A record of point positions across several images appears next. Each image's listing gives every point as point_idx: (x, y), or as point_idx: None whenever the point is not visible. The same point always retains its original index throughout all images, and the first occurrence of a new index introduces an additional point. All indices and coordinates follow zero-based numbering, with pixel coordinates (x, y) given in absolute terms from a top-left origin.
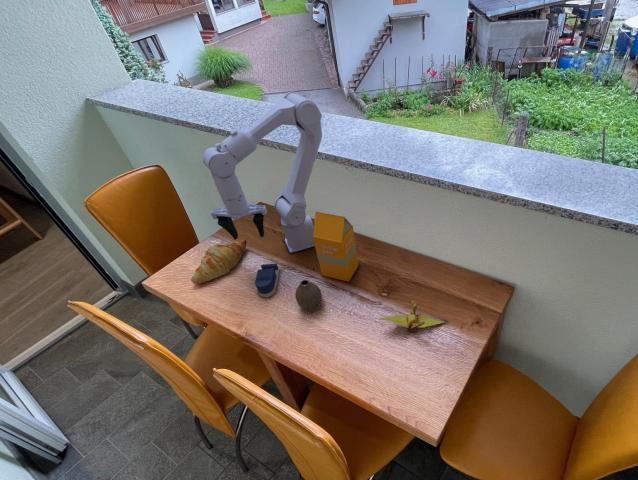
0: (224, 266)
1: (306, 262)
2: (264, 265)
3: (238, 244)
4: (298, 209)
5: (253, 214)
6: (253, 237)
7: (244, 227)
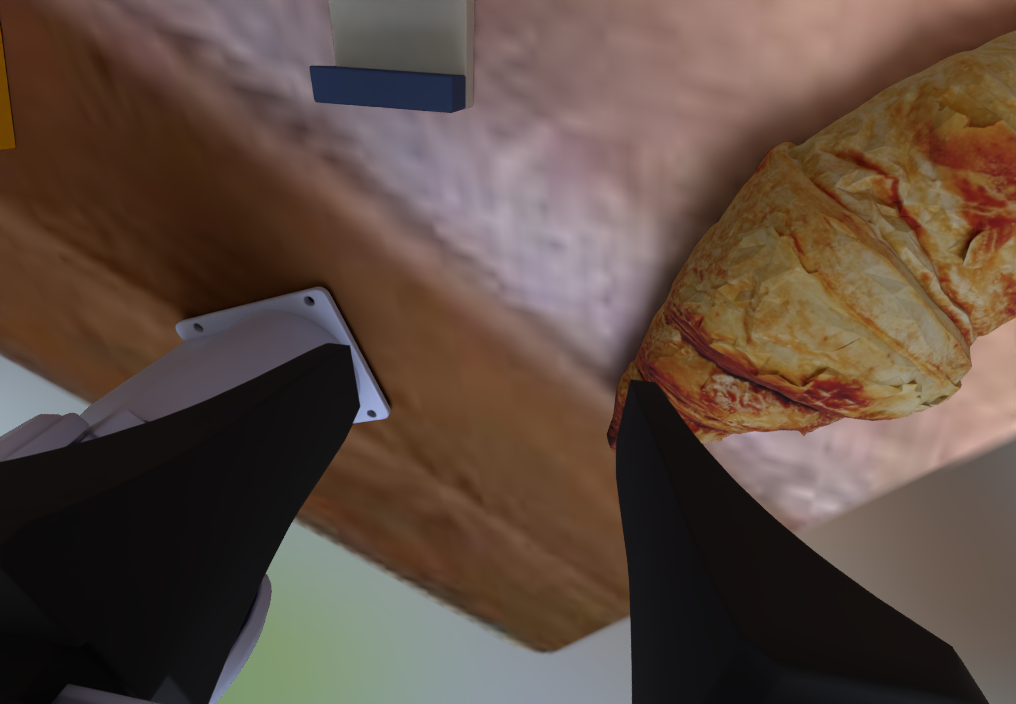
0: (813, 165)
1: (188, 162)
2: (419, 89)
3: None
4: None
5: (84, 695)
6: (582, 477)
7: None
